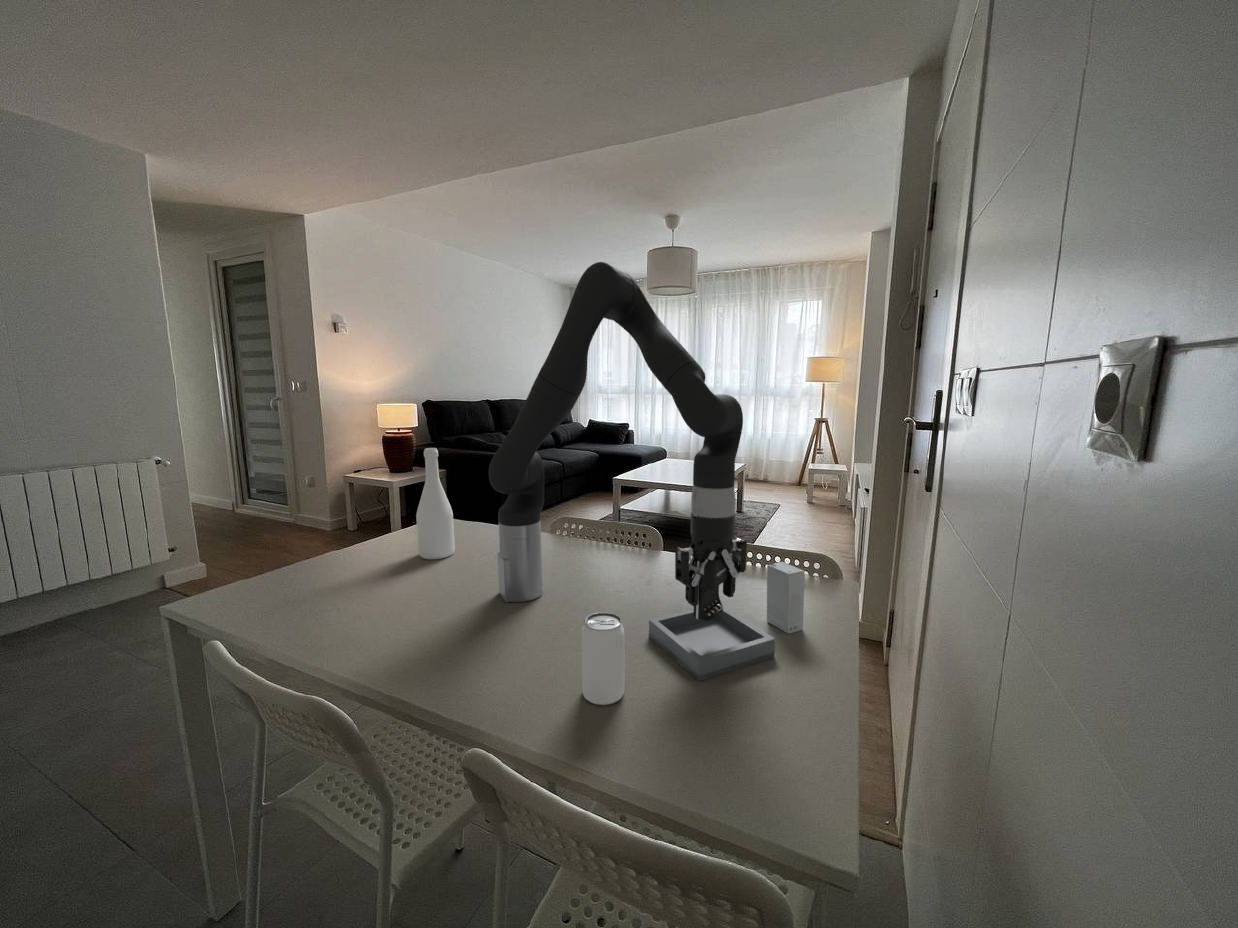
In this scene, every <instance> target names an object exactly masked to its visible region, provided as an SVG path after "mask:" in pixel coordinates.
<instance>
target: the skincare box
mask: <svg viewBox="0 0 1238 928" xmlns="http://www.w3.org/2000/svg"><path fill="white" fill-rule="evenodd" d="M766 570H767V571H766V574H767V575H766V578H767V579H766V622H767V623H769V624H770V625H772V626H774V627H776V628H777V629H779V630H781V631H783V632H784V633H786V634H792V633H793V634H794V633H797V632H800V631H802V630H803V629H804V605H805V604H804V601H805V599H804V598H805V570H803V569H801V568H799V567H796V566H794V565H791V564H788V563H787V562H784V561H779V562H775V563H771V564H767V566H766Z"/></svg>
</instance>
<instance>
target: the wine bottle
mask: <svg viewBox="0 0 1238 928" xmlns="http://www.w3.org/2000/svg"><path fill="white" fill-rule="evenodd" d="M438 457H439V451H438V449H437V448H436V447H428V448H424V451H423V458H424V462H425V463H424V465H425V468H424V469H425V480H424V485H423V489H422V493H421V496H420V500H419V502H418V503H419V504H418V506H417V510H416V513H415V514H416V515H415V518H416V519H415V520H416V530H417V531H416V532H417V546H418V547H417V549H418V555H419V557H420V558H421V559H425V560H441V559H445V558H448V557H450V556H451V555H453V554H454V552H455V549H456V548H455V547H456V545H455V531H454V529H455V528H454V513H453V509H452V505H451V504H450V502H449V499H448V497H447V495H446V492H445V490H444V487H443V484H442V482H441V479H440V475H439V474H440V473H439V471H440V470H439V460H438Z"/></svg>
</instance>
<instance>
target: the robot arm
mask: <svg viewBox="0 0 1238 928" xmlns="http://www.w3.org/2000/svg"><path fill="white" fill-rule="evenodd" d="M603 319H606V320H610V321H614V322H615V323H616V324H618V325H619V326H620V327H621V328H622V329H623V330H625V332H627V333H628V334H629V335H630V336H631V337H632V338H633V341H635V343H636V344H637V346H638V349H640V352H641V355H642V357H643V359H644V361H645V363H646V365H647V366H648V368H649V370H650V372H652V374H653V375H654V377H655V378H656V379H657V381H658V382H659V383H660V384H661V385H662V386H663V387H664V389H665V390H666V391H667V392H668V393H669V394H670V395H671V396H672V400H673V402H674V404H675V406H676V408H677V410H678V412H679V414H680V416H681V418H682V419H683V422H685V424H686V426H687V427H688V428H689V429H690V430H691V431H692V432H694V433H695V434H696V435H698V436H700V437H702V438H704V439H703V442H702V443H703V444H702V448H701V449H700V450H699V451H698V452H697V453H696V454H695V455H694V457H693V458H694V459H693V467H692V469H693V470H692V471H693V472H692V491H691V495H690V497H691V498H690V499H691V501H690V502H691V503H690V535H691V544H690V546H689V547H685V548H681V547H679V546H678V547H676V548H675V550H674V551H675V552H674V553H675V554H674V556H675V557H674V563H675V566H674V567H675V568H674V569H675V570H674V571H675V573H674V574H675V576H674V577H675V578H674V579H675V580H676V581H678V582H680V583H681V584H682V585H685V596H684V598H685V601H687V603H688V604H689V605H691V606H692V607H694V606H696V605H698V586H697V584H698V582H699V580H700V578H701V576H703V575H704V570H705V569H704V568H705V566H706V563H707V562H708V561H711V560H713V559H714V557H721V558H722V559H723V561H724V562H725V564H726V567H727V570H728V578H727V580H726V581H724V582H723V583H722V594H723V595H724V596H726V597H727V598H732V597H734V595H735V592H736V582H737V581H736V580H737V577H738V574H740V573H745V572H746V566H747V547H748V542H747V541H746V540H744V539H742V538H740V537H738V536H735V526H736V525H735V522H736V521H735V520H736V492H735V479H736V477H735V476H736V475H735V473H736V471H735V470H736V462H735V461H736V456H737V454H738V450H739V448H740V447H739V445H740V441H741V436H742V432H743V424H744V416H743V415H744V414H743V409H742V406H741V404H740V403H739V401H738V400H737V399H736V398H735V397H734V396H731V395H730V394H729V395H728V394H725V393H723V394H722V393H721V394H714V393H713V392H712V391H711V390H710V388H709V387H708V385H707V384H706V383H705V382H706V373H705V371H704V370H703V368H702V366H701V365H700V364H699V363H698V362H697V360H696V359H694V357H693V356H692V355H691V354H690V353H689V352H688V350H687V349H686V348H685V347H684V345H682V344H681V343H680V341H679V340H678V339H677V338H676V337H675V336H674V335H673V334H672V333H671V331H670V330H669V329H668V328H667V326H666V325H665V324H664V323H663V321H662V320H661V319H660V317H659V316H658V315H657V313H656V312H655V310H654V309H653V308H652V306H651V304H650V302H649V301H648V299H647V297H646V296H645V294H644V292H643V291H642V289H641V288H640V286H639V285H638V283H637V281H636V279H634V277H633V276H632V275H631V274H629V273H628V272H626V271H625V270H622V269H620V268H618V267H617V266H614V265H612V264H610V263H608V262H606V261H597V262H594V263H592V264H591V265H589V266H588V267H587V268H586V270H585V271H584V272H583V273H582V275H581V277H580V278H579V280H578V282H577V285H576V288H575V289H574V292H573V295H572V297H571V301H570V303H569V306H568V308H567V311H566V314H565V317H564V319H563V322H562V324H561V327H560V329H559V331H558V333H557V336H556V337H555V340H554V342H553V344H552V346H551V348H550V351H549V352H548V354H547V356H546V359H545V361H544V362H543V364H542V366H541V368H540V370H539V371H538V373H537V376H536V378H535V380H534V381H533V384H532V386H531V388H530V391H529V393H528V396H527V398H526V399H525V401H524V403H523V405H522V407H521V408H520V411H519V413H518V415H517V416H516V419H515V421H514V423H513V424H512V426H511V428H510V430H509V432H508V433H507V435H506V437H505V438H504V439H503V441H502V443H500V446H499V447H498V448H497V450H496V452H495V453H494V455H493V457H492V459H491V461H490V463H489V467H488V480H489V483H490V485H491V487H492V488H493V490H495V491H496V492H497V493H500V494H504V495H508V496H507V499H506V501H505V502H504V503H503V504H502V505H501V506H500V508H499V509H498V513H497V519H498V539H499V541H498V543H499V551H498V552H497V574H498V593H499V595H500V597H501V598H502V599H503V601H504V602H505V603H509V602H510V603H511V602H513V603H519V602H520V603H523V602H530V601H533V600H535V599H538V598H539V597H541V596H542V594H543V592H544V591H543V555H542V551H543V550H542V526H541V525H542V522H541V521H542V520H541V518H542V517H541V514H542V510H543V508H544V503H545V467H544V463H543V459H542V457H541V456H540V454H539V453H538V452H537V451H538V449H539V448H540V446H541V445H542V443H543V442H544V441H545V440H546V439H547V438H548V437H549V436H550V435H551V434H552V433H553V432H554V431H555V430H556V429H557V428H558V427H559V426H560V424H561V423H563V422H564V420H565V419H566V418H567V417H568V416H569V415H570V413H571V411H572V410H573V409H574V406H575V405H576V403H577V401H578V400H579V397H580V395H581V393H582V392H583V390H584V388H585V384H586V382H587V381H586V380H587V376H588V362H589V361H588V357H589V356H588V355H589V349H590V345H591V342H592V340H593V338H594V336H595V334H596V332H597V330H598V328H599V326H600V324H601V323H602V321H603ZM731 552H732V554H731ZM730 554H731V556H730ZM696 559H697V560H698V561H699V562H700V563H702V564H701V566H700V567H699V568H697V567H695V566H694V564H695V560H696ZM694 571H695V574H694Z"/></svg>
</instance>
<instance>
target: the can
mask: <svg viewBox="0 0 1238 928" xmlns="http://www.w3.org/2000/svg"><path fill="white" fill-rule="evenodd" d="M583 621H584V624H583V626H582V628H581V683H582V684H581V686H582V689H581V690H582V695H583V697H584V699H585V700H586V701H587V702H589V703H590V704H592V705H595V706H602V707H603V706H610V705H613V704H615V703H617V702H619V701H620V700H621V699H622V698H623V696H624V694H625V629H624V626H623V624H622V619H621V617H620V616H618V615H617V614H615V613H611V612H595V613H592V614H589V615H588V616H586V617H585V618H584V620H583Z"/></svg>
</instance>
